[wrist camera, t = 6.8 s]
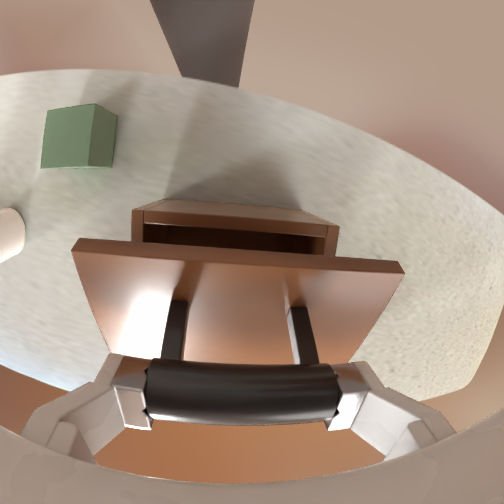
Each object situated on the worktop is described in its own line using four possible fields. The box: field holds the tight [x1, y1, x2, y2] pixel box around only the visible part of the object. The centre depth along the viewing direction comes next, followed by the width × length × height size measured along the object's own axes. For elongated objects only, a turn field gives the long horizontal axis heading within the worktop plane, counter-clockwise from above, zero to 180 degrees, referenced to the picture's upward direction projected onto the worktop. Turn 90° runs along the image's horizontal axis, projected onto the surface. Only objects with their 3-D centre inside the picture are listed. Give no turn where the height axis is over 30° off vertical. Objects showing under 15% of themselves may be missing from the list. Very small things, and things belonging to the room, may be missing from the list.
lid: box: [71, 238, 405, 426], centre depth 13 cm, size 16×13×5 cm
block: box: [41, 104, 118, 169], centre depth 19 cm, size 5×5×5 cm
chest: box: [131, 199, 340, 256], centre depth 22 cm, size 16×13×9 cm
